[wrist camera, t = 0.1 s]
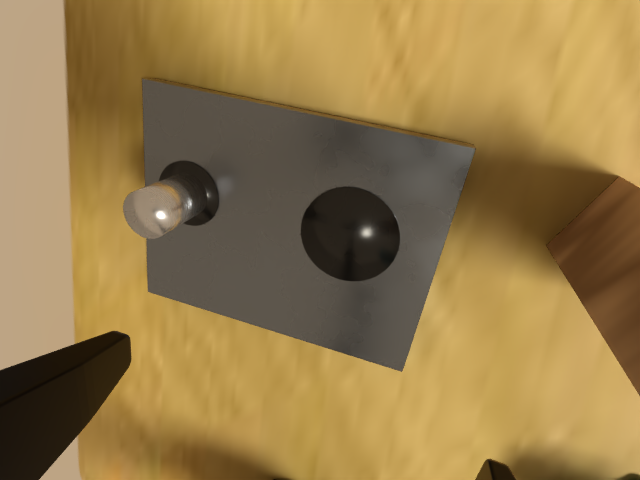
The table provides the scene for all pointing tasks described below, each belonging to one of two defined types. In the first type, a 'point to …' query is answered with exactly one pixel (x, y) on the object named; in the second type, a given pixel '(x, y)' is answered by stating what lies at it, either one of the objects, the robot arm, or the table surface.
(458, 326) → the table surface
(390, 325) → the bolt plate
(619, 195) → the post
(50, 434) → the robot arm
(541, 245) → the table surface
